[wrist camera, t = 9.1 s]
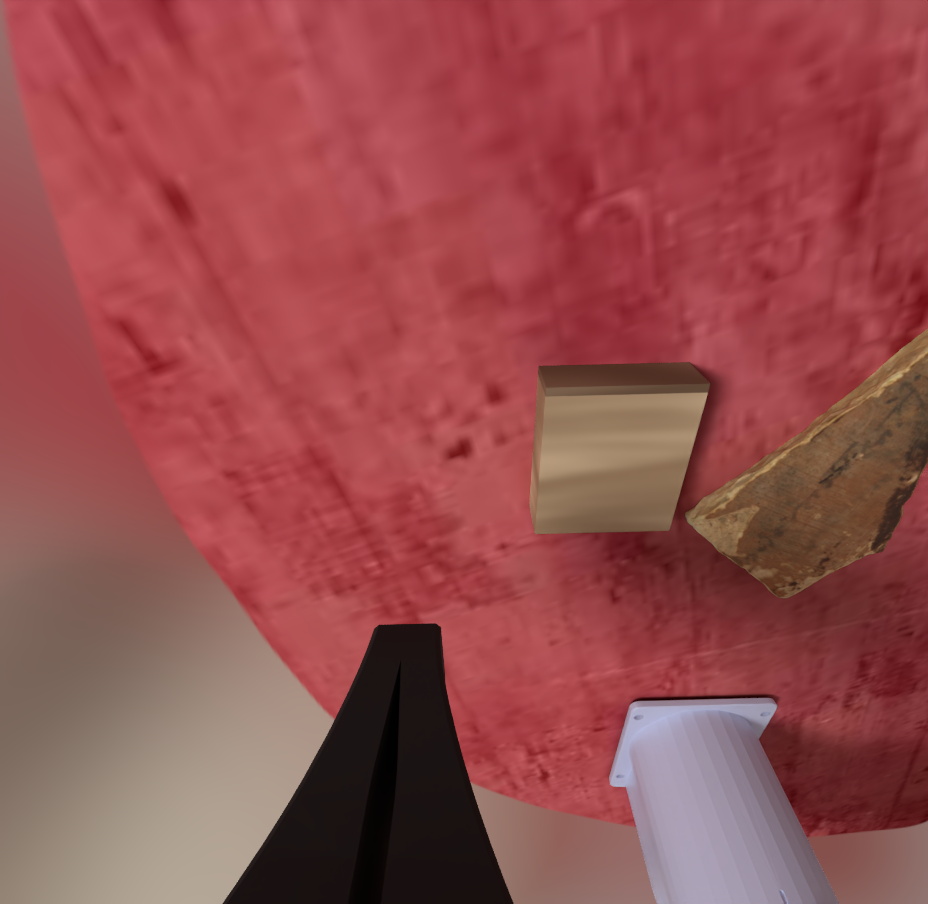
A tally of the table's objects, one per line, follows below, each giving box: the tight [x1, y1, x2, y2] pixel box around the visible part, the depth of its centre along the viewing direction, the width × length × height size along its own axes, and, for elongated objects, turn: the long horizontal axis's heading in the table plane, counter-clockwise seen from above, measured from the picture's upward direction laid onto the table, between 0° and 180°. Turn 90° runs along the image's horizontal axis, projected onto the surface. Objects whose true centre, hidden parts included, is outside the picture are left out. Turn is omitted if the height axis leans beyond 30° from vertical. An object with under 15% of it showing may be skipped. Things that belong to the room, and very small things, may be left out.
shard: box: [685, 329, 928, 598], centre depth 18 cm, size 11×8×2 cm
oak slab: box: [529, 362, 710, 534], centre depth 17 cm, size 2×5×6 cm
